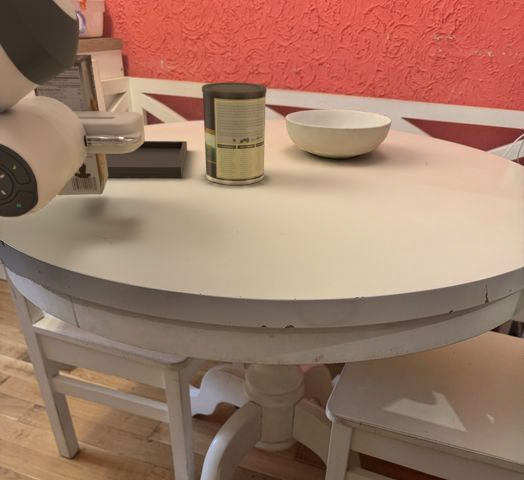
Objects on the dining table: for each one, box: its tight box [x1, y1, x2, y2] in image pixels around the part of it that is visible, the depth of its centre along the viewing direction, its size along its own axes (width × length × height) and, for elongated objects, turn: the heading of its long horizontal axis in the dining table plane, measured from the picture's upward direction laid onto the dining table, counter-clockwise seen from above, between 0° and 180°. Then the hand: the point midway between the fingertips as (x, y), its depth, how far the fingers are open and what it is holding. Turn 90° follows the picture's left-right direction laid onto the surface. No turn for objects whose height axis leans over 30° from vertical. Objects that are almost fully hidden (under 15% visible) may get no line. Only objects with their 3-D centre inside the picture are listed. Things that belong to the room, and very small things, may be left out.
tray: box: [105, 140, 188, 179], centre depth 93 cm, size 18×20×2 cm
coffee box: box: [33, 54, 109, 196], centre depth 67 cm, size 9×6×16 cm
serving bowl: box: [285, 109, 392, 159], centre depth 101 cm, size 21×21×7 cm
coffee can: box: [201, 81, 268, 186], centre depth 83 cm, size 10×10×14 cm
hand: (73, 118), depth 67 cm, fingers closed on coffee box, 6 cm apart
